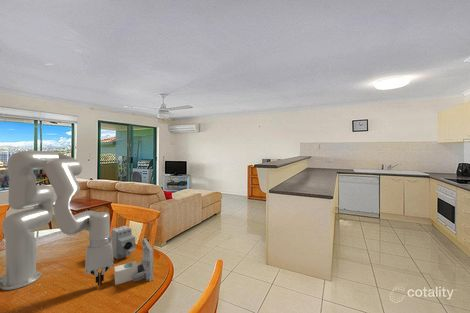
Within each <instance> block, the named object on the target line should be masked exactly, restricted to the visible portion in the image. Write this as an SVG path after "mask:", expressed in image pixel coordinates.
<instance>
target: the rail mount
mask: <svg viewBox="0 0 470 313" xmlns="http://www.w3.org/2000/svg"><path fill="white" fill-rule="evenodd" d="M137 266H138V273H136V274H133V280H132V282H133V283H135V282H139V281H143V280H145V281H146V282H147V281H148V282H152V281H154V249H153V248H152V246H151V244H150V242H149V241H148V239H147V237H146V238H142V259H140V263H137Z"/></svg>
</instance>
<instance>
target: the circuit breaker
mask: <svg viewBox="0 0 470 313" xmlns="http://www.w3.org/2000/svg"><path fill="white" fill-rule="evenodd" d="M132 230H133V229H132V228H131V227H129V226H127V225H122V226H119V227H115V228H112V229H111V231H110V234H111V235H110V236H113V237H114V239H113V240H111V242H112V247H113V258H115V259H116V260H120V259H122V258H125V257H129V256H131V255H132V252H134V251H136V237H135V236H134V235H132V232H133V231H132ZM124 255H125V256H124Z"/></svg>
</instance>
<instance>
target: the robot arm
mask: <svg viewBox="0 0 470 313" xmlns="http://www.w3.org/2000/svg"><path fill="white" fill-rule="evenodd" d="M6 168H7V173H8V178H9V179H8V197H7V198H8V202H7V203H8V206H9V207H10V209H12V210H22V211H18V212H15V213H11V214H9V215H7V217H5V218H4V219H3V220H2V222H1V229H2V233H3V236H4V243H5V247H4V248H5V274H3V275H1V276H0V289H1V290H3V291H12V290H16V289H21V288H23V287H25V286H29V285H31V284H33V283H34V282H36V281H37V280H39V279H40V278H41V275H42V273H41V271H38V270H37V240H36V237H35V235H34V234H33V233H32V232H31V231H33V230H35V229H39V228H40V227H44V226H46V225H48V224H49V223H50V222H51V221H52V219H53V218H54V220H55V222H56V225H57V226H58V228H59V230H60V231H61V232H62V233H63V234H65V235H67V236H73V235H76V234H78V233H80V232H83V231H85V230H87V229H88V232H89V233H88V245H87V247H86V250H85V261H84V262H85V265H84V275H93V276H94V277H95V284H97V286H100V285H103V282H104V281H105V273H106V272H107V271H108V270H109V269H111V268H113V267H115V264H114V257H113V247H112V240H113V239H114V237H113V236H111V235H110V234H111V231H110V230H111V227H110V226H111V217H110V213H109V212H106V211H100V212H98V211H95V210H85V211H83V212H82V211H81V212H79V213H76V214H73V212H72V211H71V206H70V204H71V203H70V202H71V200H72V198H73V197H74V196H75V195H76V194H78V193H79V192H80V190H81V187H80V184H79V183H78V180H77V179H76V176H79V175H80V174H81V173H82V171H83V165H82V163H81V162H80V161H79V160H78V159H77V158H74V157H72V156H68V155H66V154H63V153H61V152H59V151H56V150H55V151H53V150H20V151H17V152H14V153H12V155H10V156H9V157H8V159H7V162H6ZM33 170H36V171H37V170H43V171H44V173H45V175H46V177H47V179H48V181H49V183H50V185H51V187H52V188H51V187H50V186H48V185H45V184H38V185H37V176H36V175H35V173H34V171H33ZM54 193H55V194H56V199H55V194H54ZM54 200H55V202H54ZM32 207H33V208H32ZM28 208H29V209H28ZM24 209H25V210H24ZM100 269H101V270H100ZM99 270H100V272H99Z"/></svg>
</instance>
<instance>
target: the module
mask: <svg viewBox="0 0 470 313" xmlns="http://www.w3.org/2000/svg"><path fill="white" fill-rule="evenodd" d="M137 264H138V263H137V261H136V260H135V261H131V262H128V263H124V264H119V265H117V266H114V278H113V279H114V285H115V286H117V285H120V284H124V283H126V282H131V281H133V274H136V273H139V271H138V266H137Z"/></svg>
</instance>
